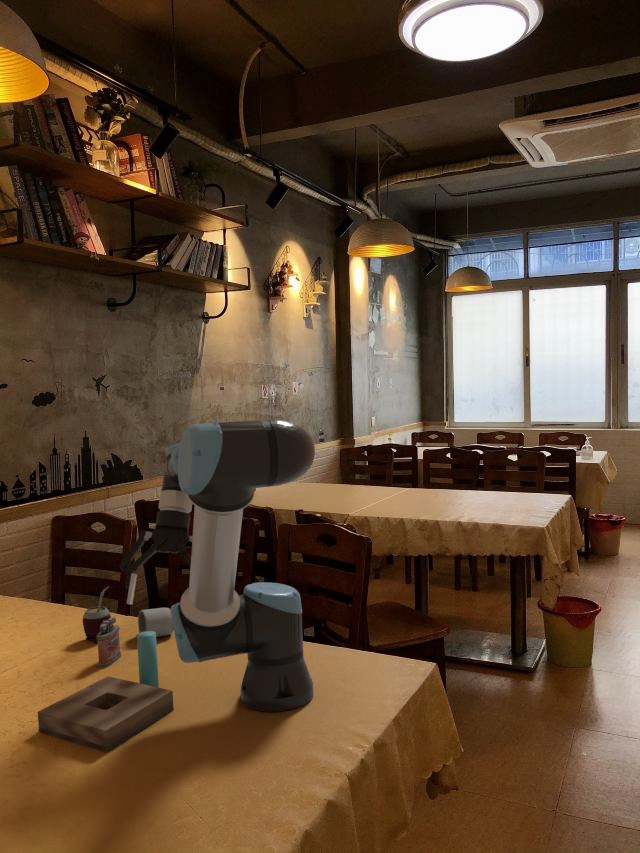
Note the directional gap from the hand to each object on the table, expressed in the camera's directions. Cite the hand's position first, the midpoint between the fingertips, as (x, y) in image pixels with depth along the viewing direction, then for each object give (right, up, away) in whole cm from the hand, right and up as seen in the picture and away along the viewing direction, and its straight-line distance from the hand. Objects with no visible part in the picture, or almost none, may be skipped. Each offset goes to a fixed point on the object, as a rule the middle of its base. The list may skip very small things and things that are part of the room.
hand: (160, 607), depth 153 cm
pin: (-2, -17, -2) cm, 17 cm away
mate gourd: (-23, -17, +31) cm, 42 cm away
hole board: (-7, -18, -16) cm, 25 cm away
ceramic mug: (-9, -16, +32) cm, 37 cm away
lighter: (-16, -17, +15) cm, 28 cm away
